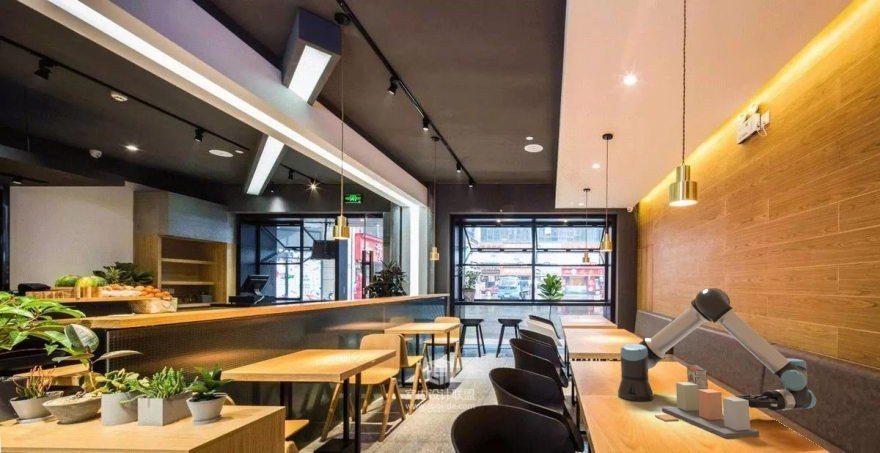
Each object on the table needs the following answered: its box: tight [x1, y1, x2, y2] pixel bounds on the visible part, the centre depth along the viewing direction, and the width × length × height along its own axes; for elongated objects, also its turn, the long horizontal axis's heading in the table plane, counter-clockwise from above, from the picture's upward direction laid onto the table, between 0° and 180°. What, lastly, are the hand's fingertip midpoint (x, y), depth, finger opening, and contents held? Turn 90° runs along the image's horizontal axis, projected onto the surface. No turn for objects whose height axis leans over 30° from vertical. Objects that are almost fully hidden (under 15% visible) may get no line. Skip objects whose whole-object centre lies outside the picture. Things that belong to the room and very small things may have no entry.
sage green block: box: [675, 381, 699, 411], centre depth 187 cm, size 5×6×10 cm
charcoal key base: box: [661, 406, 760, 439], centre depth 174 cm, size 32×14×2 cm, turn 12°
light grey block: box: [722, 396, 751, 431], centre depth 164 cm, size 5×6×10 cm
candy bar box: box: [686, 364, 709, 403], centre depth 197 cm, size 11×5×16 cm, turn 168°
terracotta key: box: [698, 388, 724, 420], centre depth 175 cm, size 5×6×10 cm
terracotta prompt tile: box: [654, 413, 680, 422], centre depth 178 cm, size 6×6×1 cm
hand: (727, 402), depth 177 cm, fingers closed
